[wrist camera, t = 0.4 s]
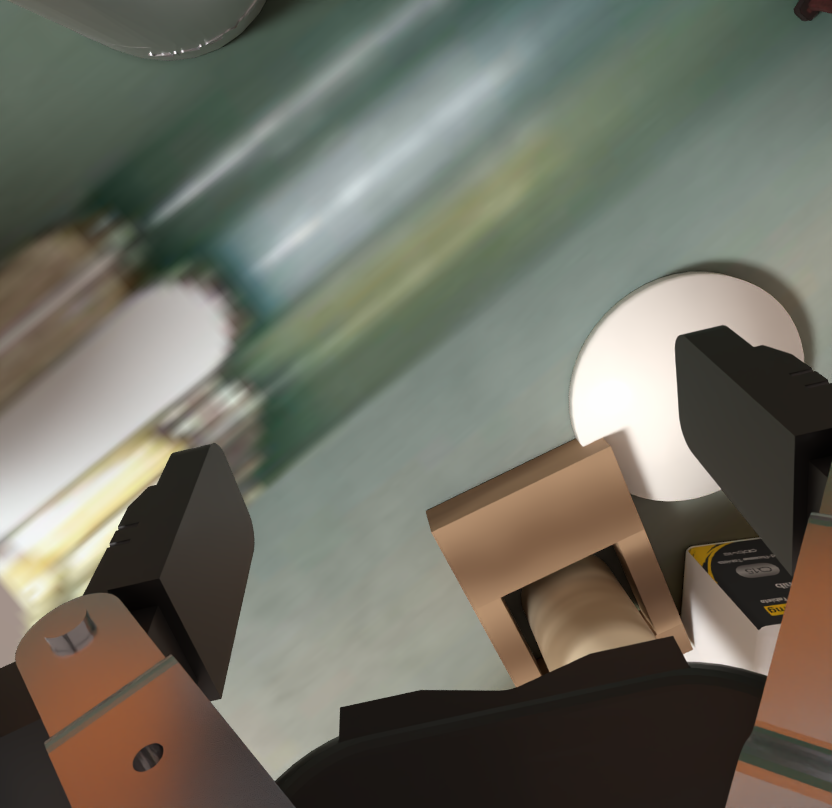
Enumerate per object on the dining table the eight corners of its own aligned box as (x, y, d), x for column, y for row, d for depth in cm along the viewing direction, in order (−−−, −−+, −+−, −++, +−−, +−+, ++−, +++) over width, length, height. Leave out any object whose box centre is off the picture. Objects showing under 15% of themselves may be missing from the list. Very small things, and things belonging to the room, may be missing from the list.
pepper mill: (506, 577, 36) (624, 860, 22) (595, 535, 36) (773, 793, 22) (541, 647, 38) (672, 950, 24) (626, 607, 38) (810, 888, 23)
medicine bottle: (813, 527, 37) (1021, 690, 26) (796, 638, 40) (981, 830, 29) (683, 544, 37) (840, 719, 26) (675, 655, 39) (814, 859, 28)
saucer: (533, 339, 32) (540, 344, 31) (758, 228, 31) (771, 231, 30) (613, 527, 36) (621, 537, 35) (814, 431, 35) (827, 439, 34)
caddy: (425, 511, 34) (431, 532, 32) (595, 429, 34) (610, 445, 32) (525, 695, 39) (535, 722, 37) (675, 625, 38) (693, 649, 37)
